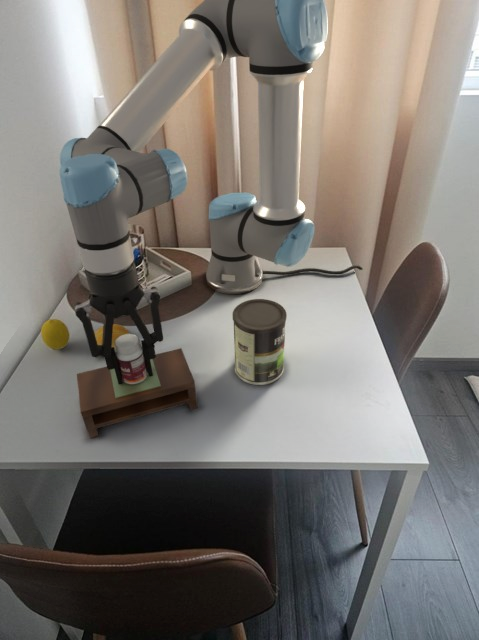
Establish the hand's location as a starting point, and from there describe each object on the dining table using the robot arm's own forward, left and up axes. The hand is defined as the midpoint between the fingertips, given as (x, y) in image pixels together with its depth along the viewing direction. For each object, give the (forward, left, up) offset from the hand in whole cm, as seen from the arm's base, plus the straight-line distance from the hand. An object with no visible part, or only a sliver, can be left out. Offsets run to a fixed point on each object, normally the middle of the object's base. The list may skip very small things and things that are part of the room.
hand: (134, 375), depth 81 cm
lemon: (+14, -23, -8) cm, 28 cm away
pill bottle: (0, 0, 0) cm, 0 cm away
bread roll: (+3, -20, -8) cm, 22 cm away
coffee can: (-25, -1, -8) cm, 26 cm away
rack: (0, 0, -8) cm, 8 cm away
